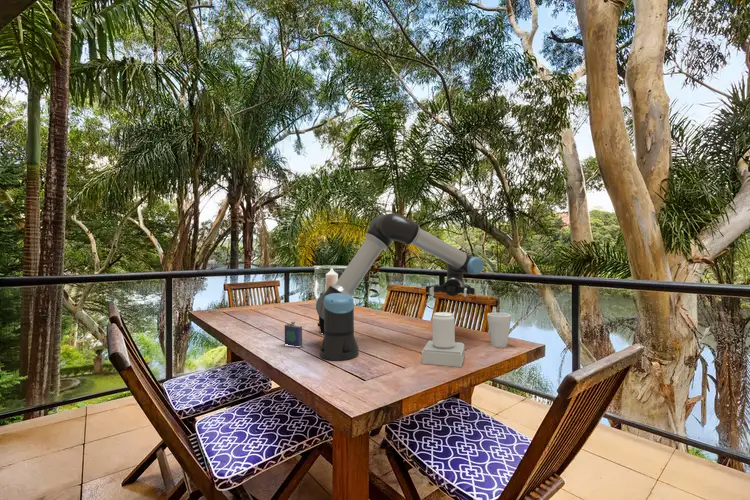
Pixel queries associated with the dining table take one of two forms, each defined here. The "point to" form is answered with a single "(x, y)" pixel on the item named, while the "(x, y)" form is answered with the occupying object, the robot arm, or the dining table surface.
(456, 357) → the pedestal
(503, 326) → the foam cup
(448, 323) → the beverage can
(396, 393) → the dining table surface
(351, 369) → the dining table surface
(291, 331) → the flask
